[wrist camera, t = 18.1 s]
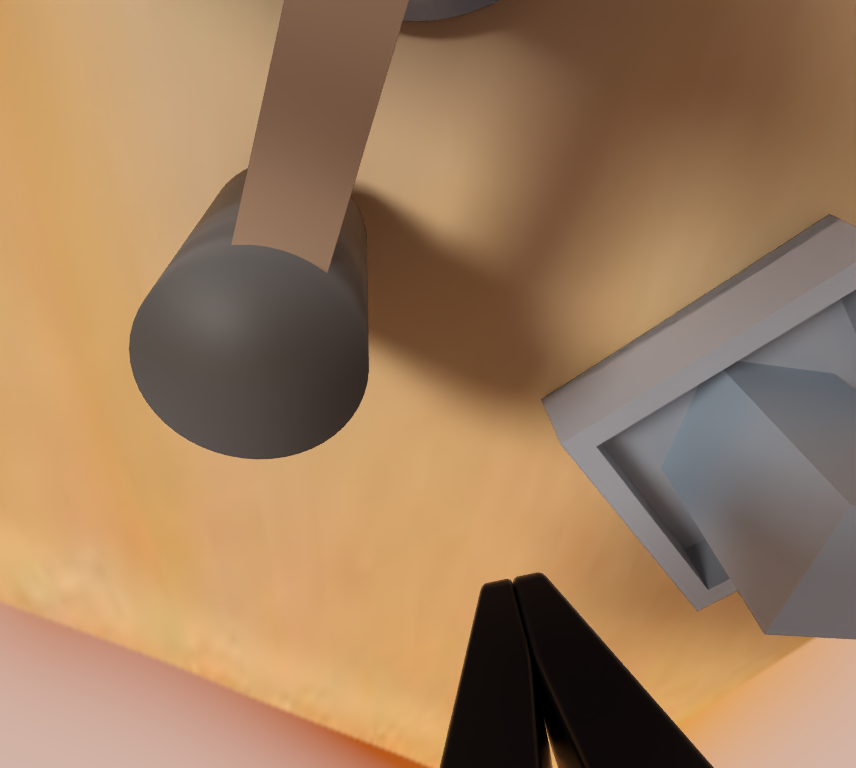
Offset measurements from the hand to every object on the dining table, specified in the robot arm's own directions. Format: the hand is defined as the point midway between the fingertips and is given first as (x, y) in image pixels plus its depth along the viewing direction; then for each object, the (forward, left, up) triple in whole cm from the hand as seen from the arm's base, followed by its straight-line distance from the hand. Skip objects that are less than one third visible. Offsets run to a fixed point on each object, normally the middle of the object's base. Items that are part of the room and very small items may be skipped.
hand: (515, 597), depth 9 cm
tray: (-5, +11, -12) cm, 17 cm away
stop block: (-5, +11, -12) cm, 17 cm away
